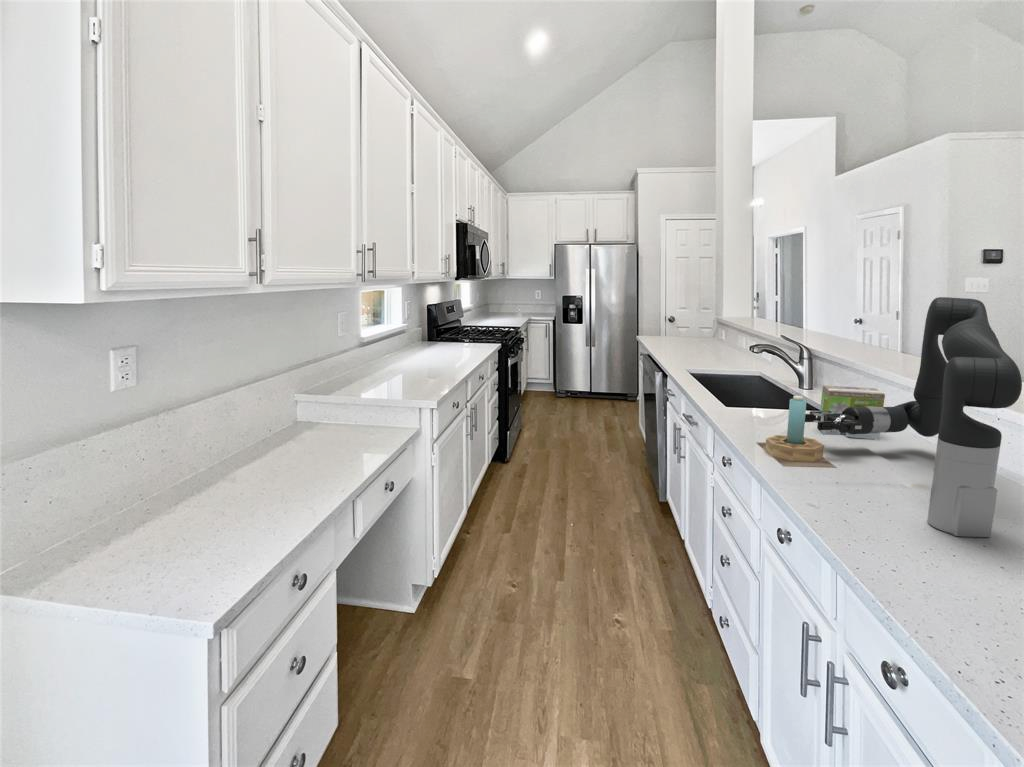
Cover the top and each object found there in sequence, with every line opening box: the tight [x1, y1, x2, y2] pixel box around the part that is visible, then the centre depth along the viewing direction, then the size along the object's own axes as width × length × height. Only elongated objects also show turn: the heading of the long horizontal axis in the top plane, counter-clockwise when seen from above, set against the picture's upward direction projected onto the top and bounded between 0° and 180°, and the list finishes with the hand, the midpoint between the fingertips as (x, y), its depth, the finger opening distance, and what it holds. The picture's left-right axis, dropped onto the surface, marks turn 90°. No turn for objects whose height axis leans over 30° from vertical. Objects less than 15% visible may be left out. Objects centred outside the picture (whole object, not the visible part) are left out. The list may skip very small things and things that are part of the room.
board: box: [755, 441, 838, 469], centre depth 152 cm, size 22×13×1 cm, turn 174°
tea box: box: [819, 385, 886, 440], centre depth 174 cm, size 15×10×15 cm, turn 73°
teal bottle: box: [786, 395, 808, 445], centre depth 151 cm, size 4×4×16 cm
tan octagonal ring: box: [764, 434, 825, 462], centre depth 152 cm, size 13×13×4 cm
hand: (808, 422), depth 151 cm, fingers open, 8 cm apart
